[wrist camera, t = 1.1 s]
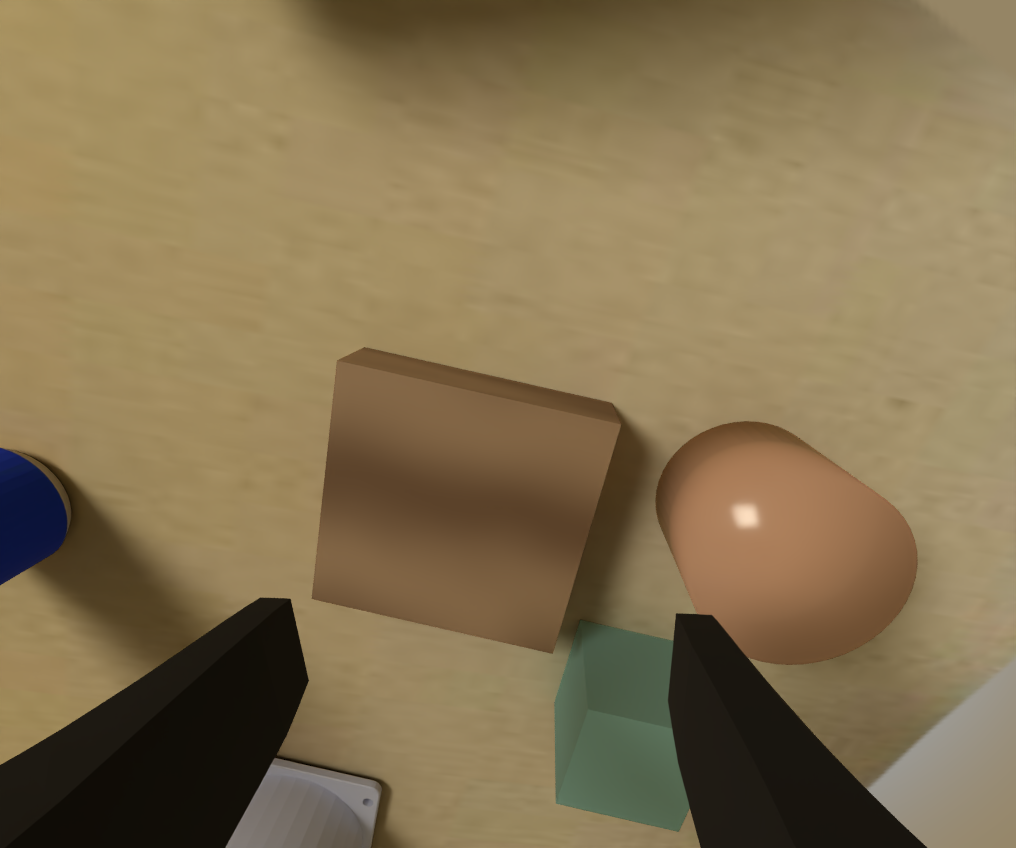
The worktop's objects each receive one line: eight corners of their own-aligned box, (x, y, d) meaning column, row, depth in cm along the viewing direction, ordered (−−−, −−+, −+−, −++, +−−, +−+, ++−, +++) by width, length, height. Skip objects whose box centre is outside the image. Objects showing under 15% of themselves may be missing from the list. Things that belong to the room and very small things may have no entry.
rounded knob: (785, 582, 20) (860, 683, 15) (635, 549, 20) (663, 639, 15) (850, 441, 18) (958, 506, 13) (683, 404, 18) (733, 455, 13)
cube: (654, 723, 23) (678, 832, 18) (554, 700, 23) (555, 803, 18) (686, 642, 21) (720, 739, 17) (580, 618, 21) (588, 709, 17)
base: (552, 609, 21) (552, 653, 19) (338, 560, 21) (311, 599, 19) (611, 402, 18) (621, 424, 16) (364, 347, 18) (337, 360, 16)
